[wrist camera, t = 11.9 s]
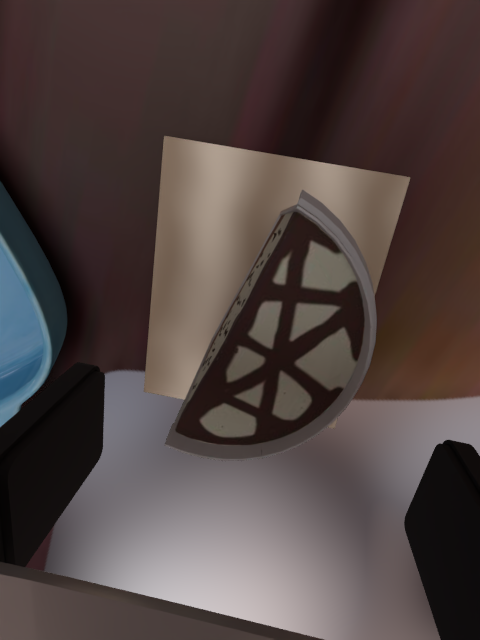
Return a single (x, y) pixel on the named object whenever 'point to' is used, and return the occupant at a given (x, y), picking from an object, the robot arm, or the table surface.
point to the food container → (284, 344)
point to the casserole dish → (25, 311)
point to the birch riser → (240, 238)
